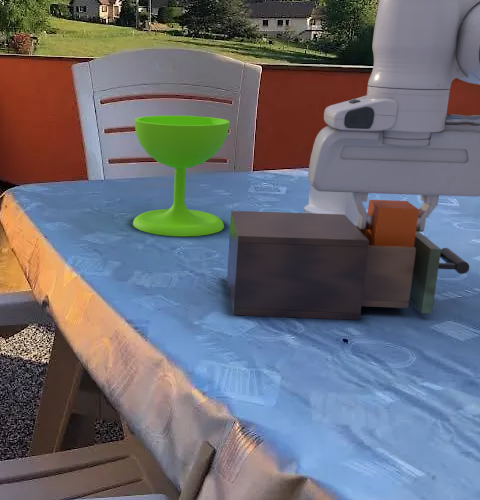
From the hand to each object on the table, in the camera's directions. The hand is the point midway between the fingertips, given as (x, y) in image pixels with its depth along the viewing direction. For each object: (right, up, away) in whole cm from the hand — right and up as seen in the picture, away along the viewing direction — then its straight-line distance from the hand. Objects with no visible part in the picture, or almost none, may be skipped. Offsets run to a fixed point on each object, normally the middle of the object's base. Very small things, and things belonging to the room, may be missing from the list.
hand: (389, 229), depth 85 cm
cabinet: (-11, -9, +3) cm, 15 cm away
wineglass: (-23, +2, +39) cm, 45 cm away
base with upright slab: (0, -2, +27) cm, 27 cm away
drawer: (0, -8, +2) cm, 8 cm away
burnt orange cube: (0, -2, +1) cm, 2 cm away
